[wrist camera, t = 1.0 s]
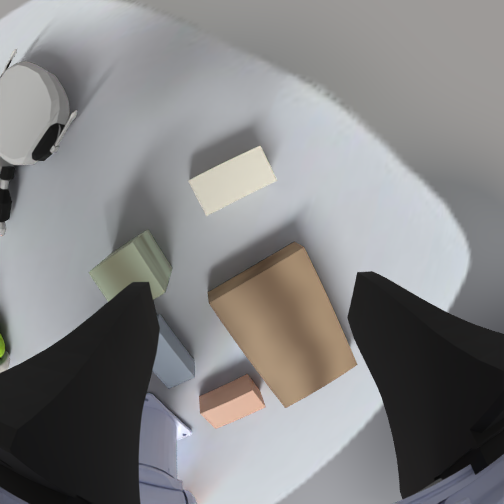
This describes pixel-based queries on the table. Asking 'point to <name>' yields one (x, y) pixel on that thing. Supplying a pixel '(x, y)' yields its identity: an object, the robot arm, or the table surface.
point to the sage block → (133, 267)
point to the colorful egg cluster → (3, 356)
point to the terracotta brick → (231, 402)
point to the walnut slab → (285, 324)
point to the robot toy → (28, 122)
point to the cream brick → (232, 180)
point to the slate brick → (172, 358)
